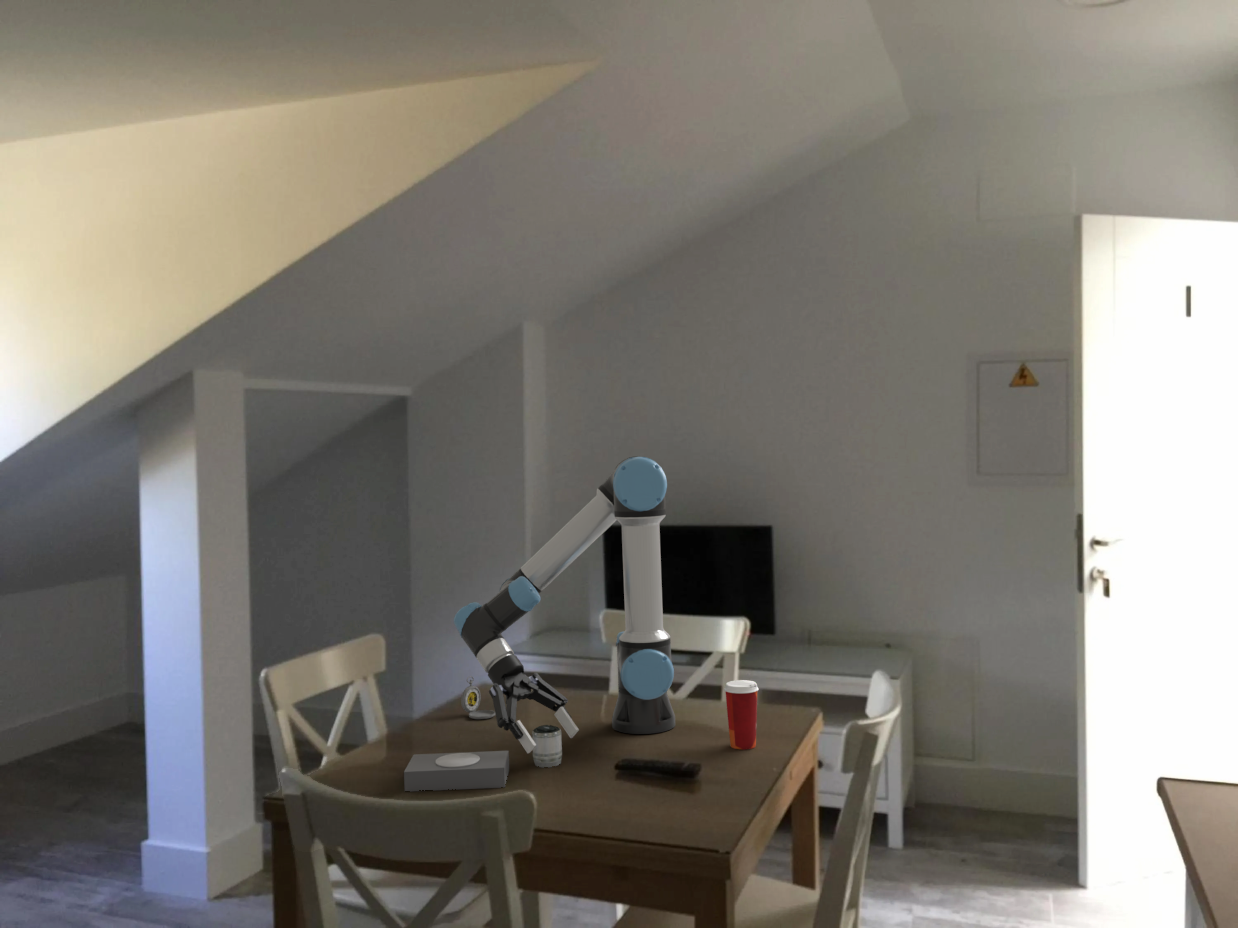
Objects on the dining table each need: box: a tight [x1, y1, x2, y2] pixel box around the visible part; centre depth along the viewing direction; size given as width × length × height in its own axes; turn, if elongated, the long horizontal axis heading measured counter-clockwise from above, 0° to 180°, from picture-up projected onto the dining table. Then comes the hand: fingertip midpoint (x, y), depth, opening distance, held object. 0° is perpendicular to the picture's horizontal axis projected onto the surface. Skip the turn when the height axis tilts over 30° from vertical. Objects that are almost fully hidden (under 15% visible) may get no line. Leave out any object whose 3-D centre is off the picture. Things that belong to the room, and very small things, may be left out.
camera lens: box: [531, 724, 563, 768], centre depth 234 cm, size 6×6×8 cm
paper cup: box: [723, 679, 759, 750], centre depth 242 cm, size 8×8×14 cm
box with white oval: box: [403, 750, 510, 792], centre depth 224 cm, size 20×12×4 cm, turn 92°
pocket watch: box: [460, 675, 496, 720], centre depth 276 cm, size 8×8×10 cm
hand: (554, 741), depth 232 cm, fingers open, 13 cm apart
